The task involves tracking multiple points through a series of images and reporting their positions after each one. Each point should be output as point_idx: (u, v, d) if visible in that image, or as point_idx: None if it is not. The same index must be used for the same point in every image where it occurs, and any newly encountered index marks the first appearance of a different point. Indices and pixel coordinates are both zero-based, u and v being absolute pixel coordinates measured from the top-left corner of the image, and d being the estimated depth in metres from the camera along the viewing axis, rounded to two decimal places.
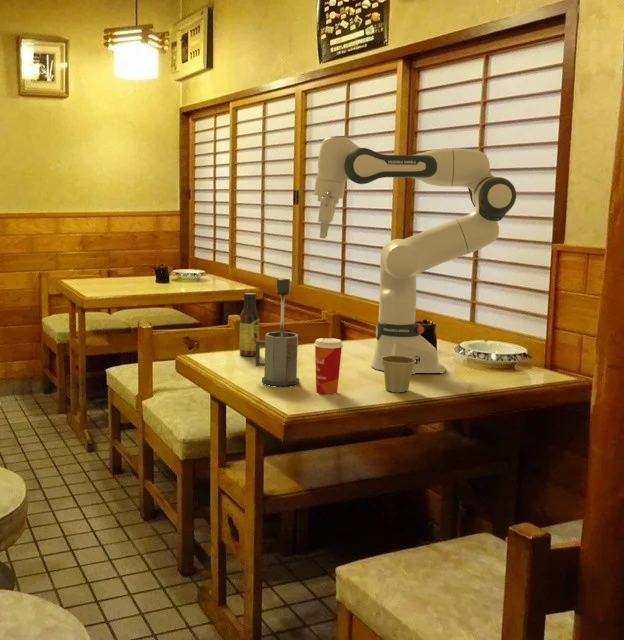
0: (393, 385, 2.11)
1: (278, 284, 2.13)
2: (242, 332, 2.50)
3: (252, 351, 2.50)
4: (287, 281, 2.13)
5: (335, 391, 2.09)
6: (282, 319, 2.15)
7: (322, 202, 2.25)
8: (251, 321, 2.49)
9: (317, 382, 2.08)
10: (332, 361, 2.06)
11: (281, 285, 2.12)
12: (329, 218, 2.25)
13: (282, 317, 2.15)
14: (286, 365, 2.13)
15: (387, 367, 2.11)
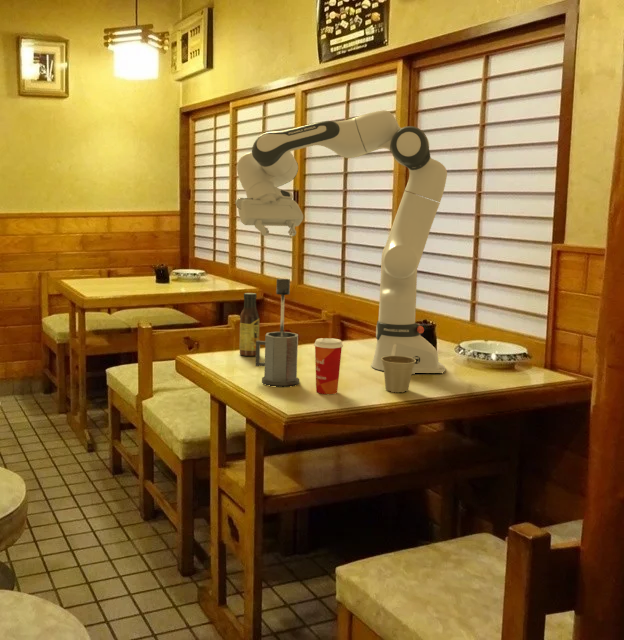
0: (393, 385, 2.11)
1: (278, 284, 2.13)
2: (242, 332, 2.50)
3: (252, 351, 2.50)
4: (287, 281, 2.13)
5: (335, 391, 2.09)
6: (282, 319, 2.15)
7: (238, 209, 2.30)
8: (251, 321, 2.49)
9: (317, 382, 2.08)
10: (332, 361, 2.06)
11: (281, 285, 2.12)
12: (245, 214, 2.26)
13: (282, 317, 2.15)
14: (286, 365, 2.13)
15: (387, 367, 2.11)
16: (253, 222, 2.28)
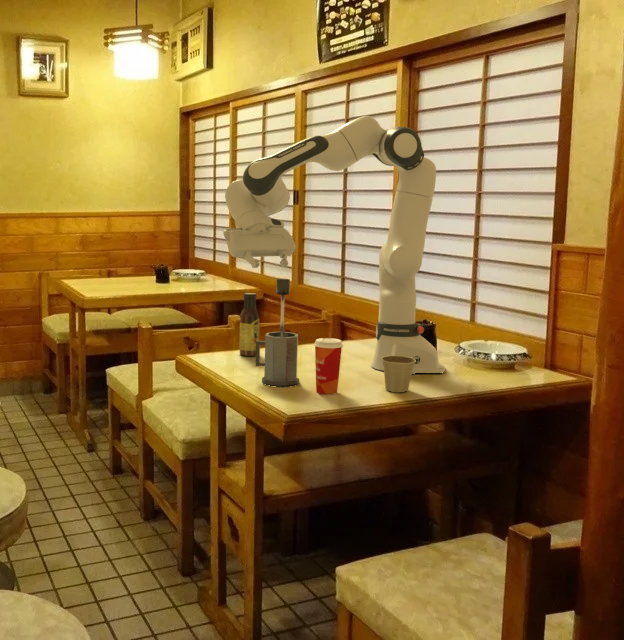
0: (393, 385, 2.11)
1: (278, 284, 2.13)
2: (242, 332, 2.50)
3: (252, 351, 2.50)
4: (287, 281, 2.13)
5: (335, 391, 2.09)
6: (282, 319, 2.15)
7: (227, 240, 2.19)
8: (251, 321, 2.49)
9: (317, 382, 2.08)
10: (332, 361, 2.06)
11: (281, 285, 2.12)
12: (233, 246, 2.15)
13: (282, 317, 2.15)
14: (286, 365, 2.13)
15: (387, 367, 2.11)
16: (242, 254, 2.17)
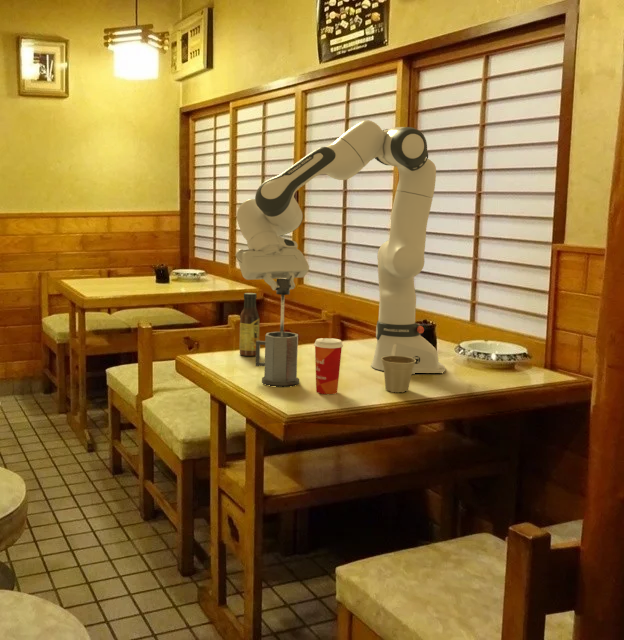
0: (393, 385, 2.11)
1: None
2: (242, 332, 2.50)
3: (252, 351, 2.50)
4: (287, 281, 2.13)
5: (335, 391, 2.09)
6: (282, 319, 2.15)
7: (239, 262, 2.14)
8: (251, 321, 2.49)
9: (317, 382, 2.08)
10: (332, 361, 2.06)
11: (281, 285, 2.12)
12: (246, 268, 2.10)
13: (282, 317, 2.15)
14: (286, 365, 2.13)
15: (387, 367, 2.11)
16: (255, 276, 2.12)
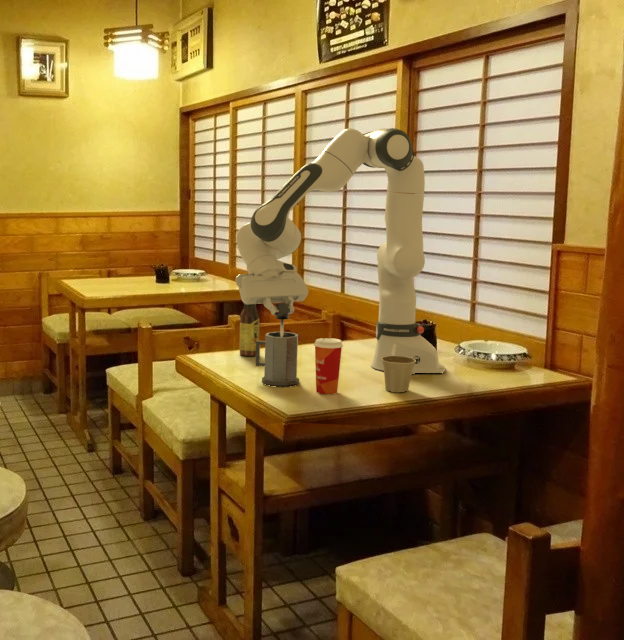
0: (393, 385, 2.11)
1: None
2: (242, 332, 2.50)
3: (252, 351, 2.50)
4: (286, 306, 2.14)
5: (335, 391, 2.09)
6: None
7: (239, 287, 2.15)
8: (251, 321, 2.49)
9: (317, 382, 2.08)
10: (332, 361, 2.06)
11: (280, 310, 2.13)
12: (246, 293, 2.11)
13: None
14: (286, 365, 2.13)
15: (387, 367, 2.11)
16: (255, 301, 2.13)
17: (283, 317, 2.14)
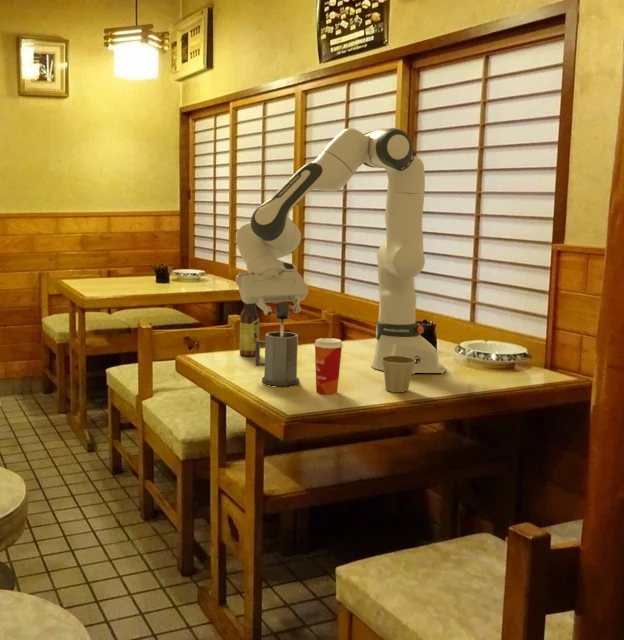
0: (393, 385, 2.11)
1: (277, 308, 2.14)
2: (242, 332, 2.50)
3: (252, 351, 2.50)
4: (286, 305, 2.14)
5: (335, 391, 2.09)
6: None
7: (238, 286, 2.15)
8: (251, 321, 2.49)
9: (317, 382, 2.08)
10: (332, 361, 2.06)
11: (280, 310, 2.13)
12: (246, 293, 2.11)
13: None
14: (286, 365, 2.13)
15: (387, 367, 2.11)
16: (255, 300, 2.13)
17: (283, 317, 2.14)
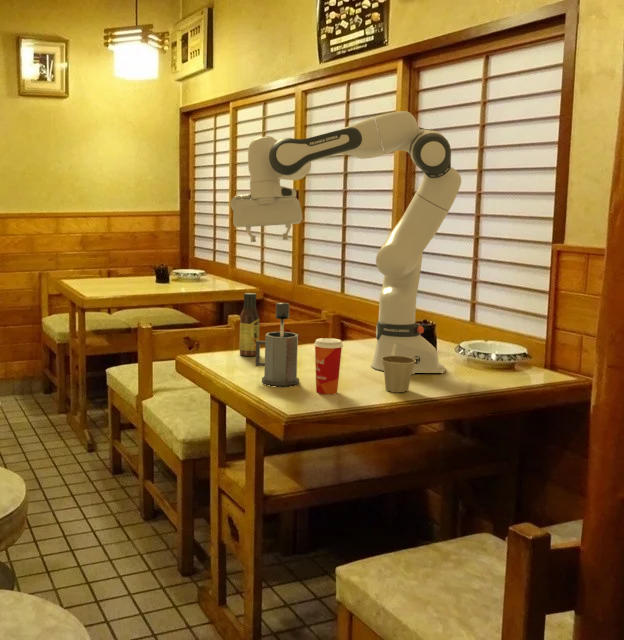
0: (393, 385, 2.11)
1: (277, 308, 2.14)
2: (242, 332, 2.50)
3: (252, 351, 2.50)
4: (286, 305, 2.14)
5: (335, 391, 2.09)
6: None
7: None
8: (251, 321, 2.49)
9: (317, 382, 2.08)
10: (332, 361, 2.06)
11: (280, 310, 2.13)
12: (233, 221, 2.28)
13: None
14: (286, 365, 2.13)
15: (387, 367, 2.11)
16: (244, 226, 2.30)
17: (283, 317, 2.14)
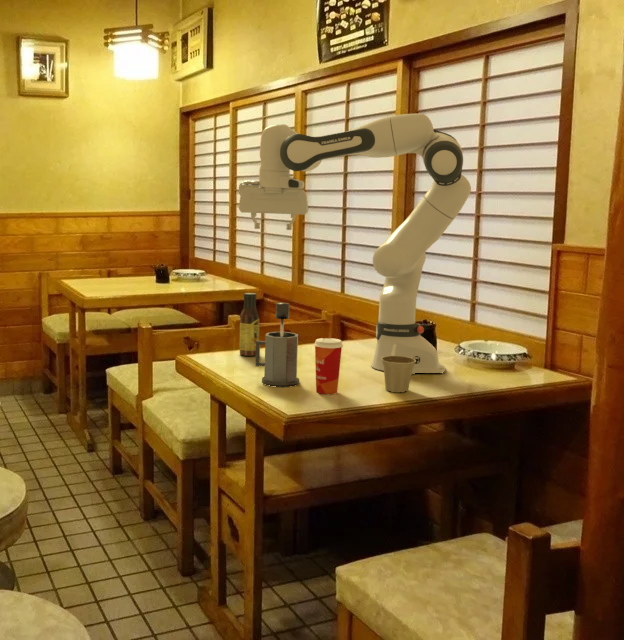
0: (393, 385, 2.11)
1: (277, 308, 2.14)
2: (242, 332, 2.50)
3: (252, 351, 2.50)
4: (286, 305, 2.14)
5: (335, 391, 2.09)
6: None
7: None
8: (251, 321, 2.49)
9: (317, 382, 2.08)
10: (332, 361, 2.06)
11: (280, 310, 2.13)
12: (239, 207, 2.31)
13: None
14: (286, 365, 2.13)
15: (387, 367, 2.11)
16: None
17: (283, 317, 2.14)
